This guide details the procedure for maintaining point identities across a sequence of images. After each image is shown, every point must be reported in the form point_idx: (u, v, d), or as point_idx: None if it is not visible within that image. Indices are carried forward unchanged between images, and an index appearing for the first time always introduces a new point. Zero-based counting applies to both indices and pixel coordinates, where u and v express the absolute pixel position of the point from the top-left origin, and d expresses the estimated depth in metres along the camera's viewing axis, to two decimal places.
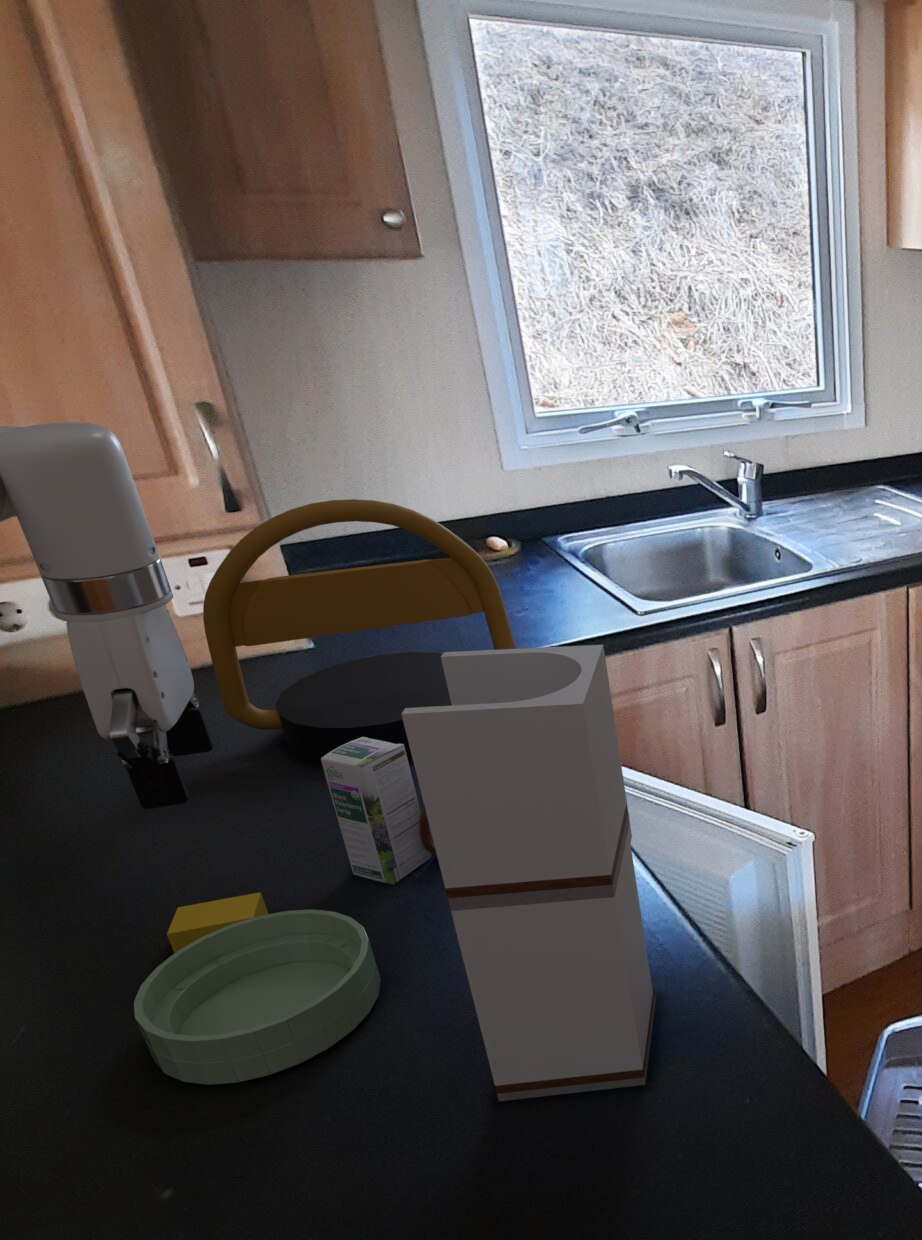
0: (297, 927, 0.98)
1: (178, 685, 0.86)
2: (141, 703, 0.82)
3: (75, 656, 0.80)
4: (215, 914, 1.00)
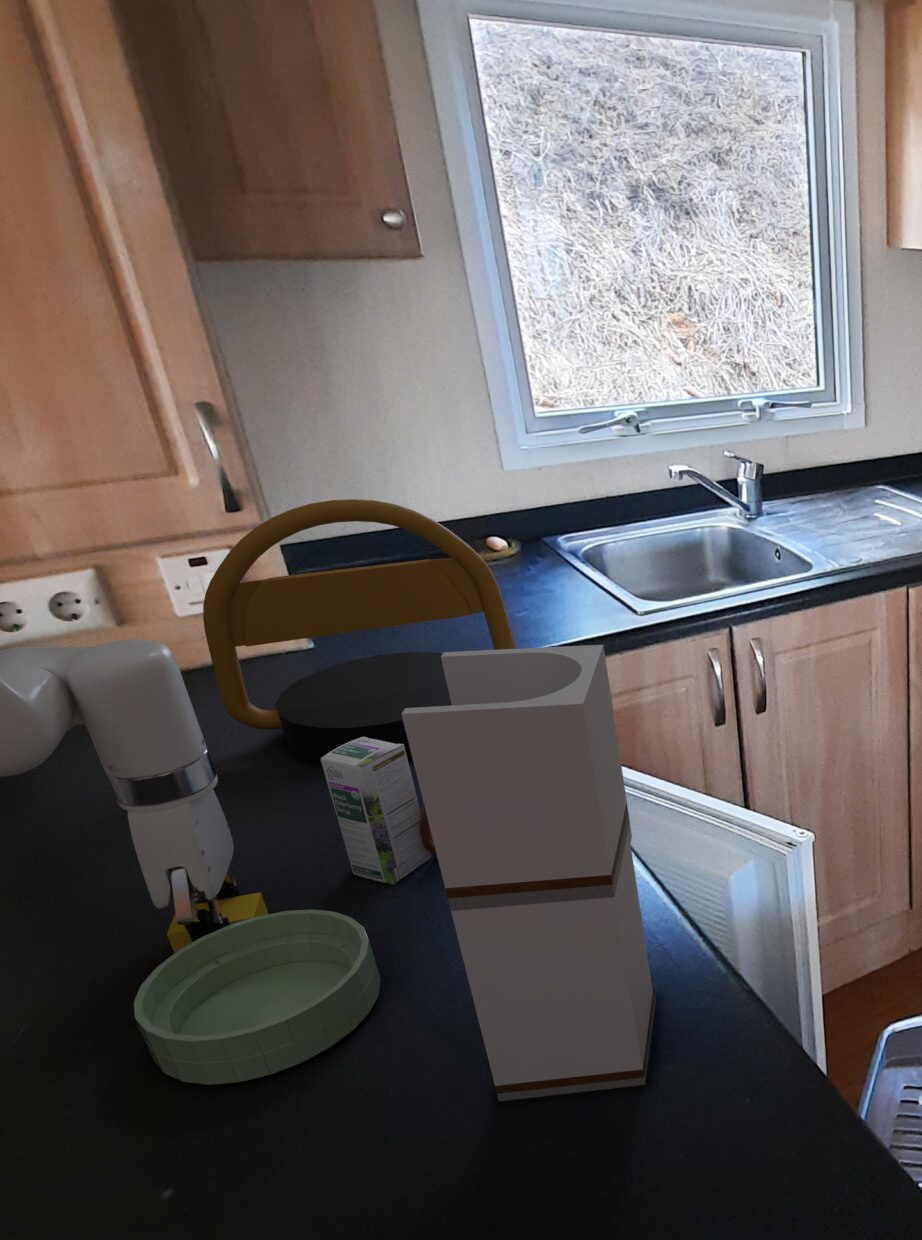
0: (297, 927, 0.98)
1: (221, 854, 0.98)
2: (191, 878, 0.94)
3: (135, 842, 0.91)
4: None
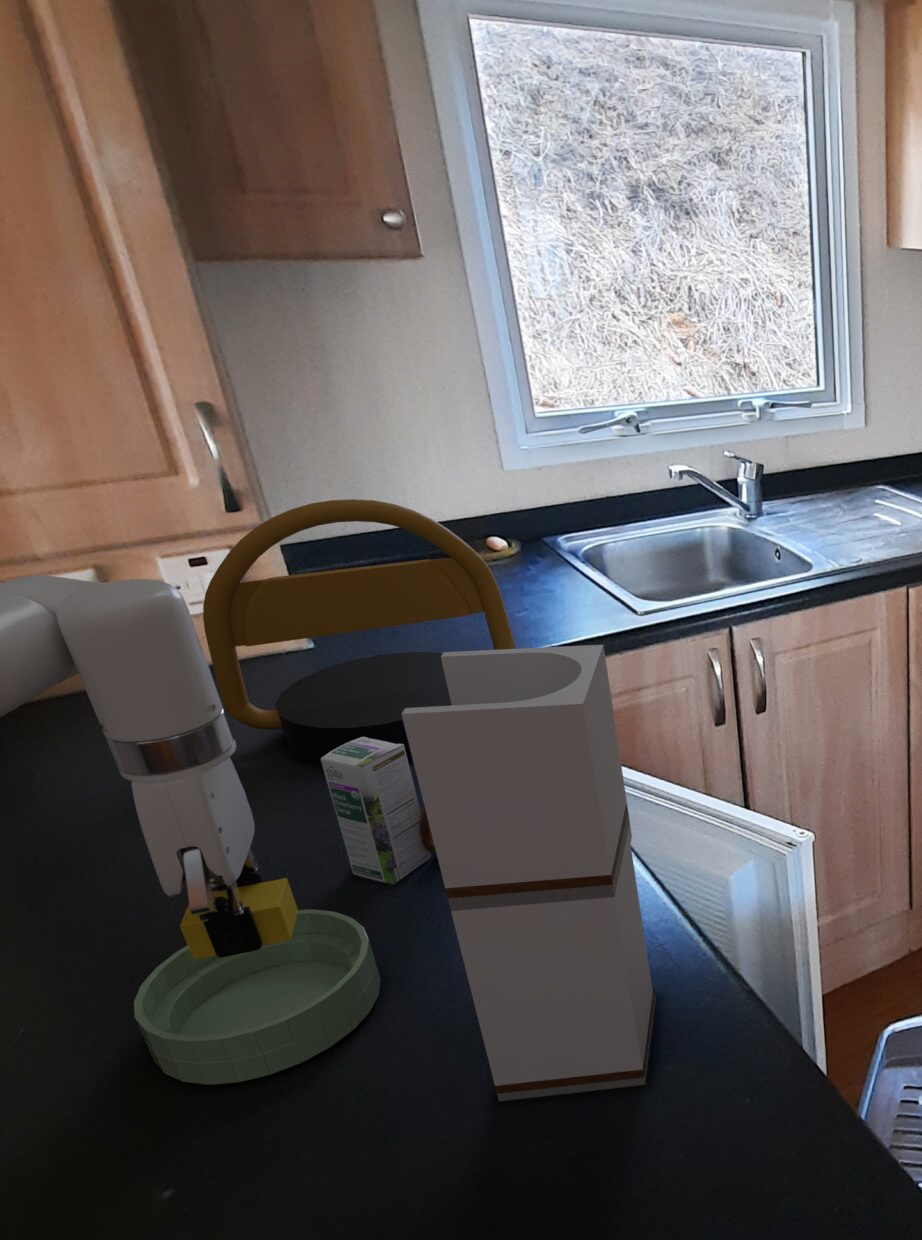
0: (297, 927, 0.98)
1: (241, 834, 0.84)
2: (207, 860, 0.80)
3: (140, 818, 0.78)
4: None
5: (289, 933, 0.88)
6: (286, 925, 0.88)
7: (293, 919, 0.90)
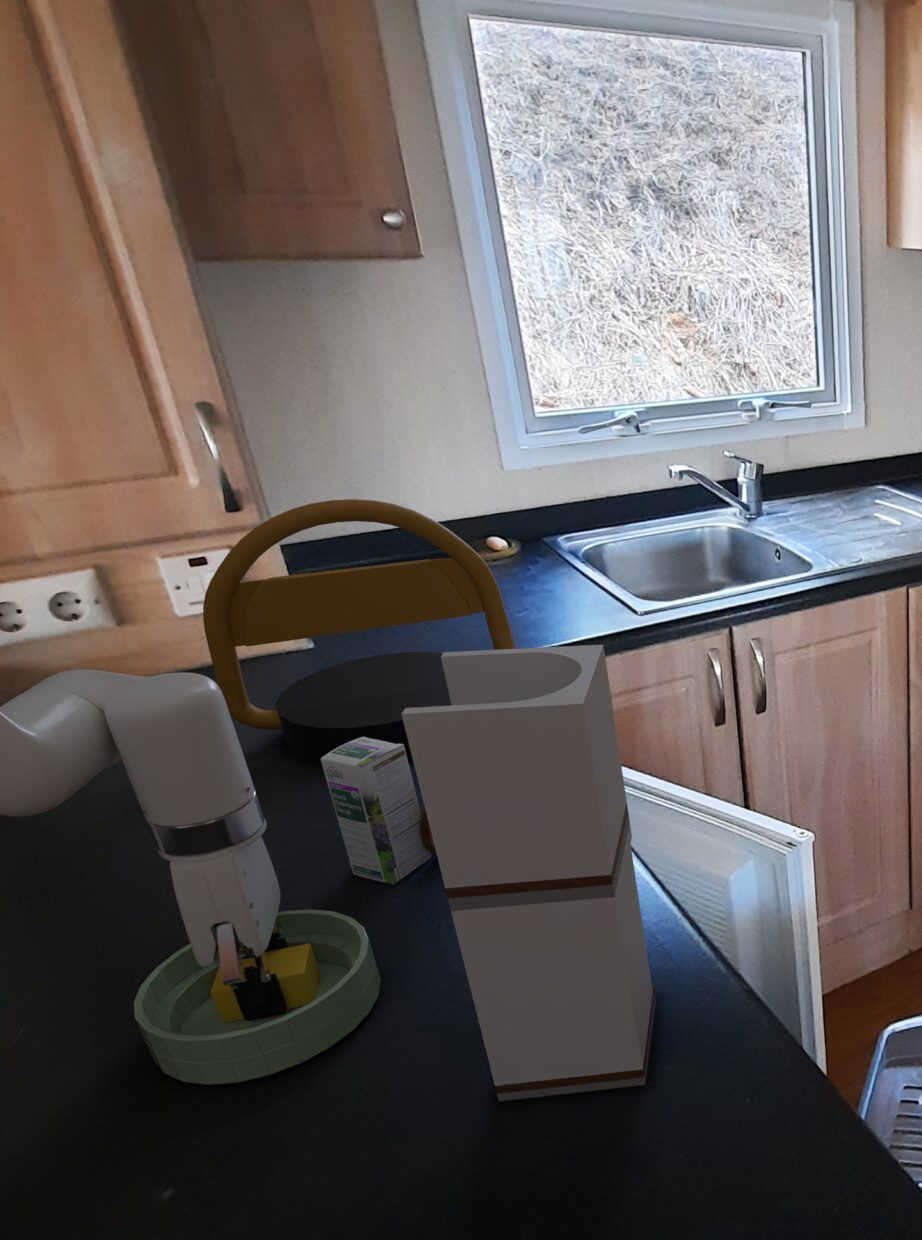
0: (297, 927, 0.98)
1: (269, 905, 0.90)
2: (238, 934, 0.85)
3: (178, 896, 0.83)
4: None
5: (312, 997, 0.93)
6: (310, 990, 0.93)
7: (316, 982, 0.95)
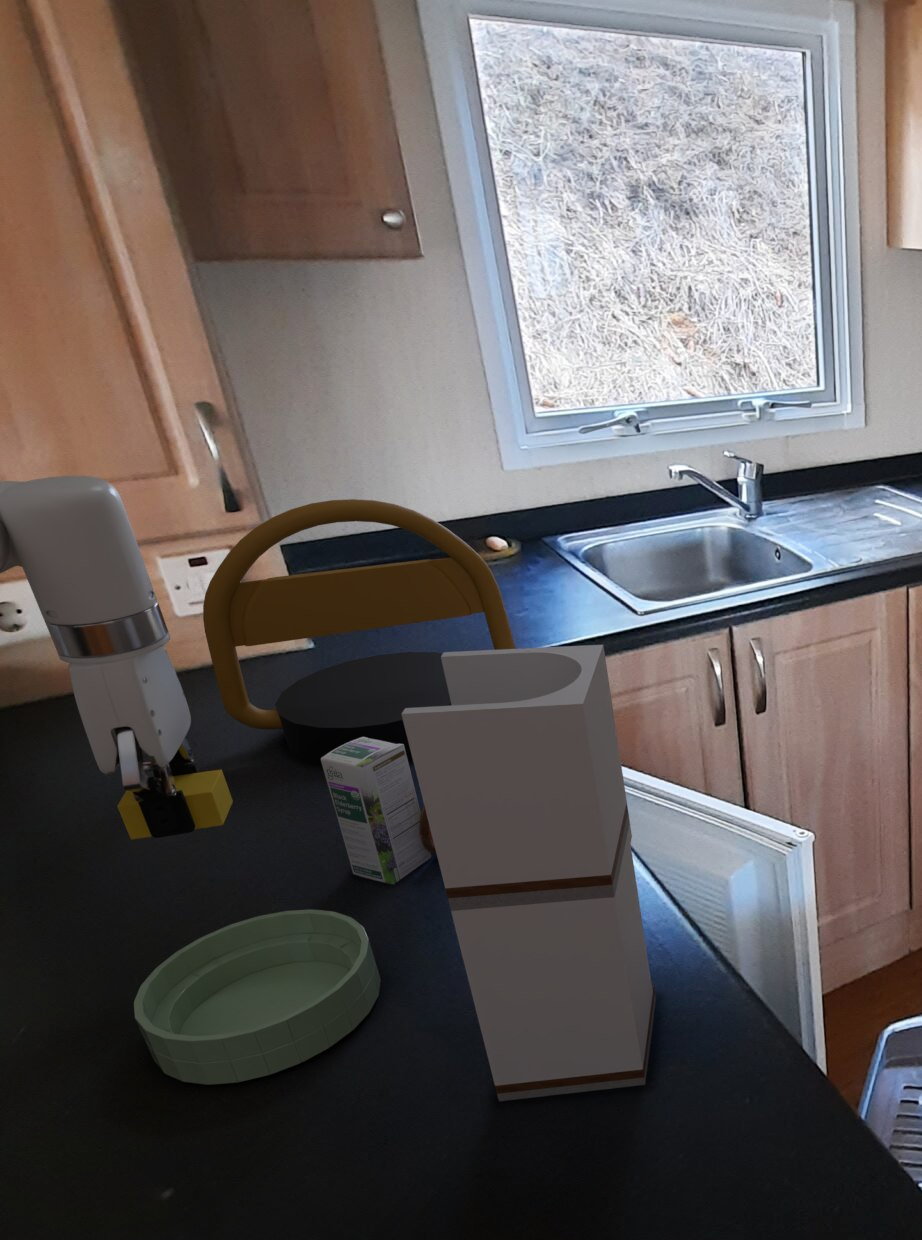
0: (297, 927, 0.98)
1: (175, 721, 0.91)
2: (139, 740, 0.86)
3: (77, 697, 0.84)
4: None
5: (221, 818, 0.94)
6: (218, 810, 0.94)
7: (227, 807, 0.96)
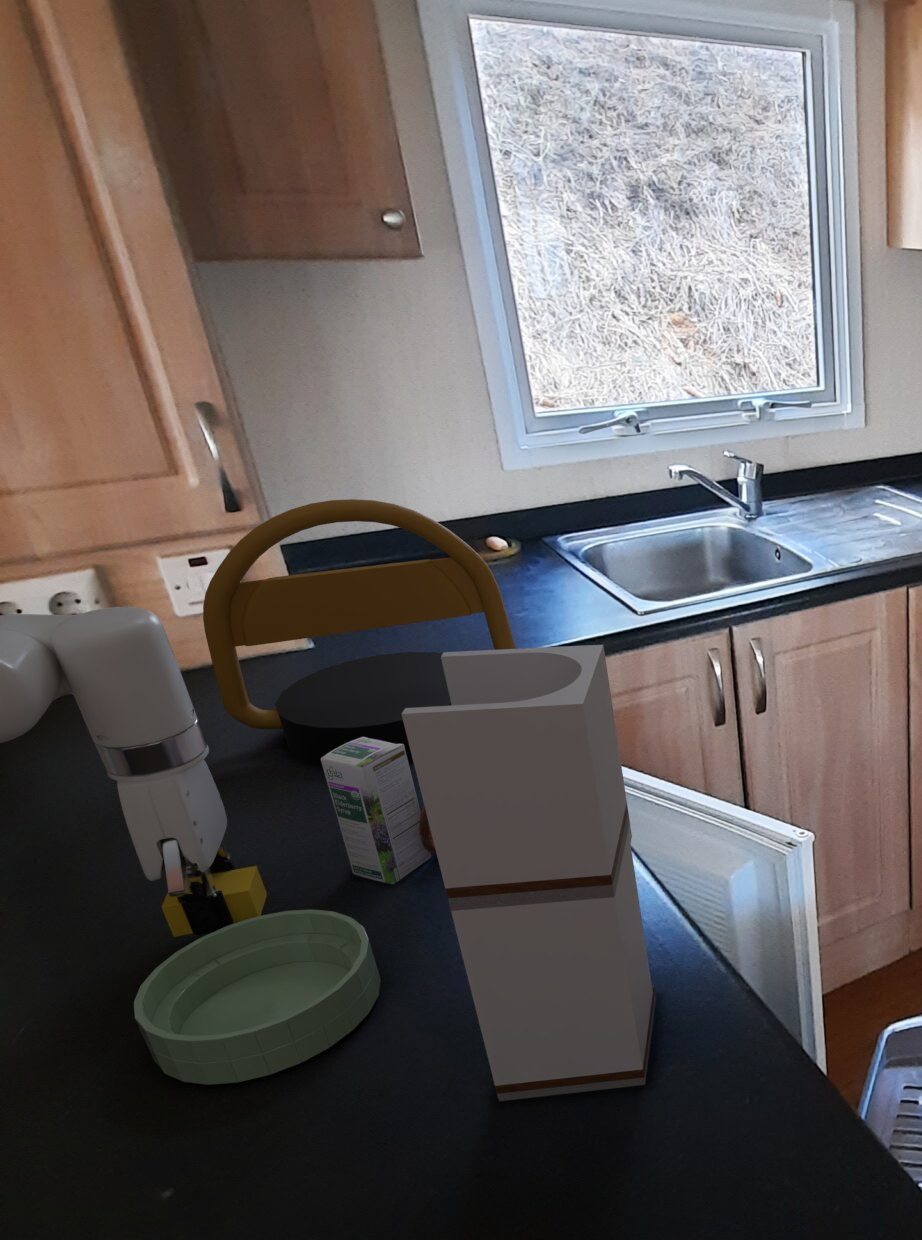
0: (297, 927, 0.98)
1: (214, 827, 0.97)
2: (183, 850, 0.92)
3: (125, 813, 0.90)
4: None
5: (258, 914, 1.00)
6: (255, 907, 1.00)
7: (262, 902, 1.02)
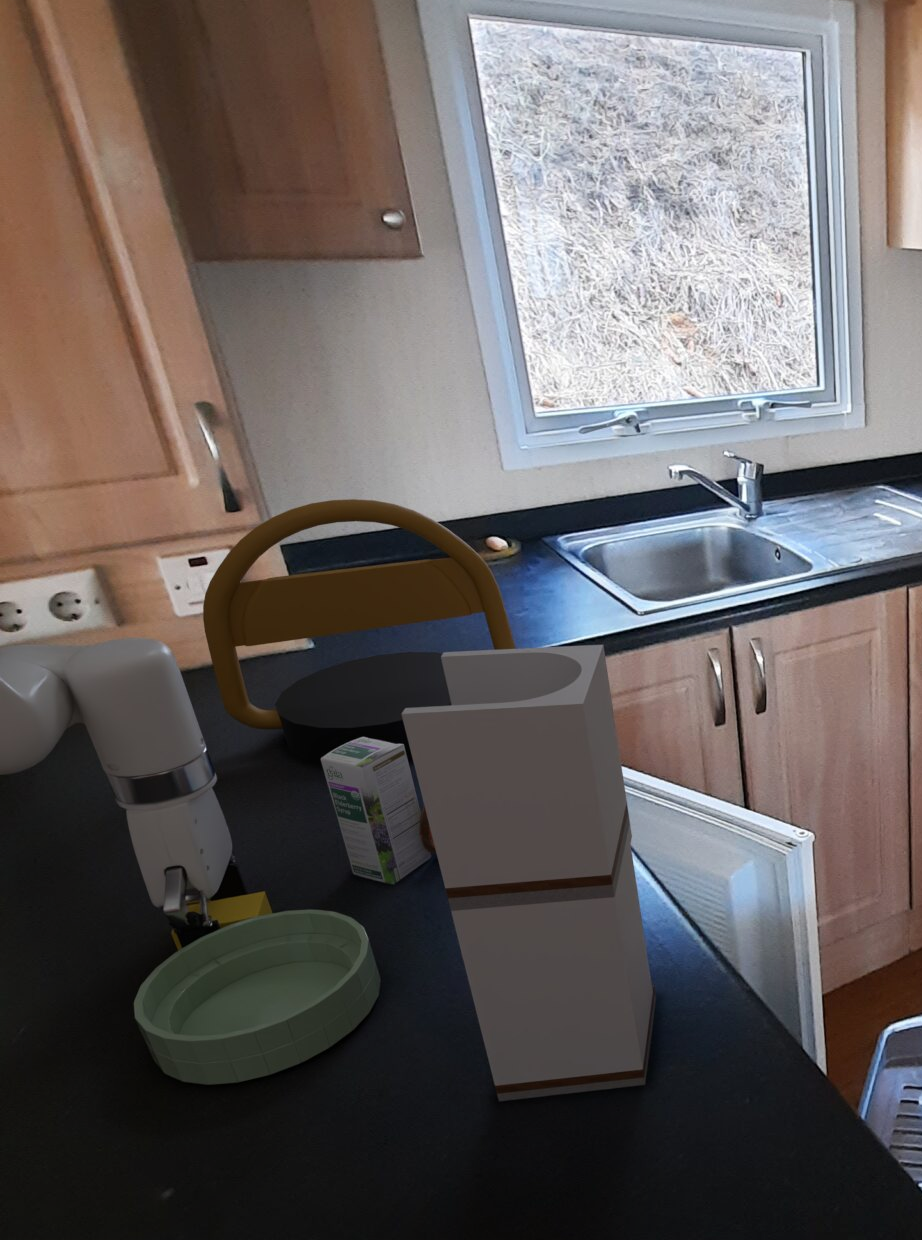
0: (297, 927, 0.98)
1: (220, 853, 0.98)
2: (189, 877, 0.94)
3: (133, 840, 0.91)
4: (219, 913, 1.00)
5: None
6: None
7: None
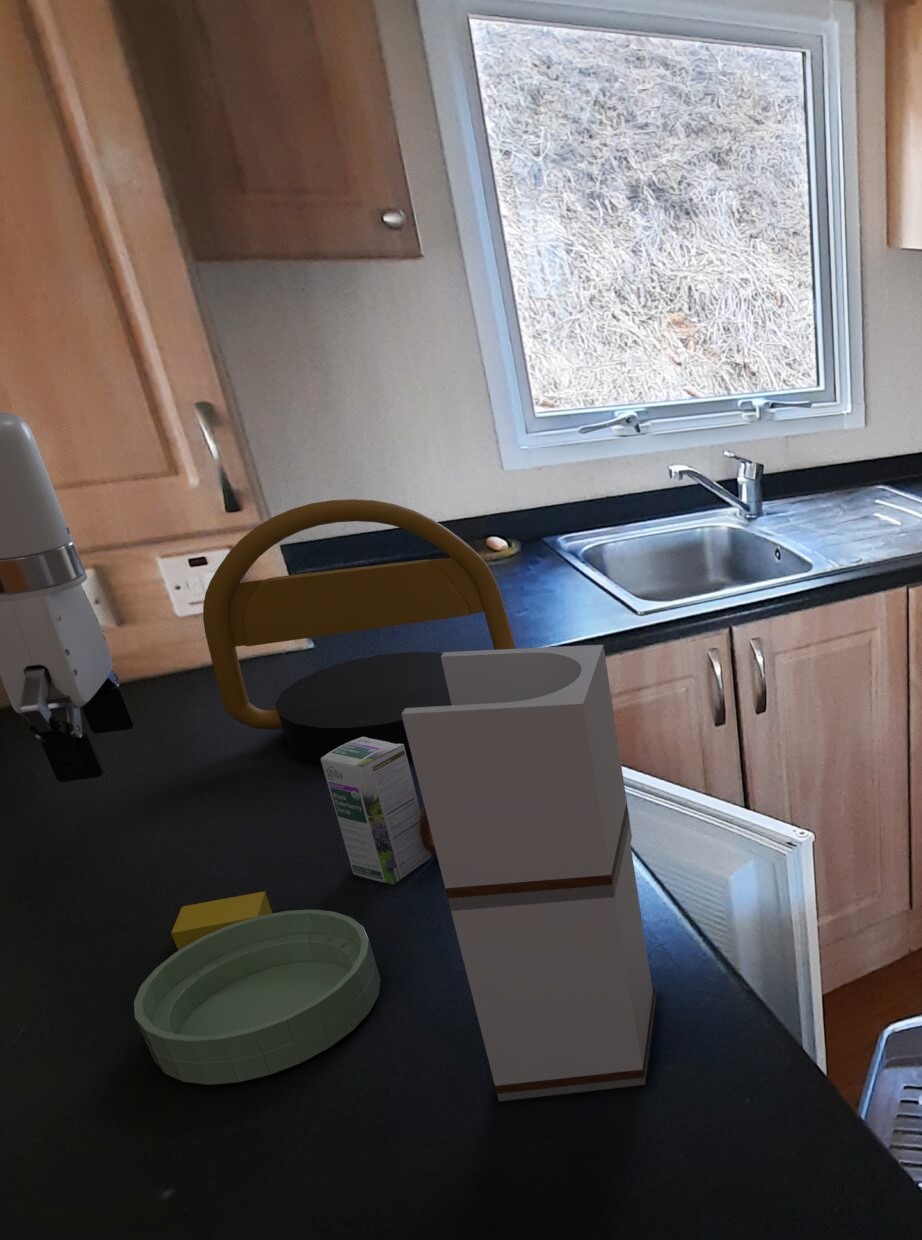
0: (297, 927, 0.98)
1: (93, 663, 0.90)
2: (54, 679, 0.86)
3: None
4: (219, 913, 1.00)
5: None
6: None
7: None
